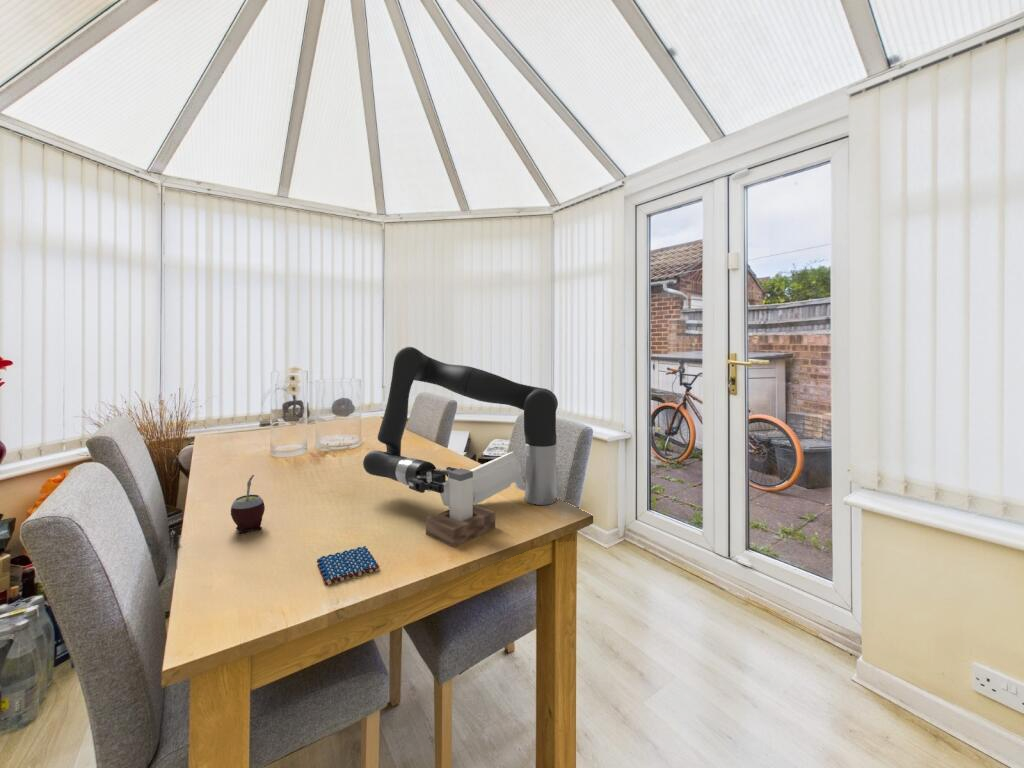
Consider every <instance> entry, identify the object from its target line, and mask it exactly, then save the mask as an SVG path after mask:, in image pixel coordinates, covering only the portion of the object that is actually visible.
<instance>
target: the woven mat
mask: <svg viewBox="0 0 1024 768" xmlns="http://www.w3.org/2000/svg"><path fill="white" fill-rule="evenodd" d="M316 563H317V567H318V568H319V570H320V571H319V573H320V574H321V577H322V579H323V581H324V582H323V584H325V585H327V586H330V585H332V584H333V583H335V584H336V583H338V580H339V581H340V582H344V580H345V579H346V580H350V577H351V578H352V579H356V578H357V576H358V577H361V576H362V575H367V572H368V573H370V574H372V573H373V572H374V571H375V572H377V571H379V568H380V565H379V563H378V562H377V560H376V559H375V557H374V555H372V553H371V552H370V550H369V549H368V547H367V546H366V545H363V546H358V547H357V548H350V549H347V550H344V551H340V552H339V551H338V552H336V553H333V554H332V553H330V554H328V555H322V556H321V557H319V558H317V559H316Z"/></svg>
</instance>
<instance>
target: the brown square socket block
mask: <svg viewBox="0 0 1024 768" xmlns="http://www.w3.org/2000/svg"><path fill="white" fill-rule="evenodd" d="M495 528H496V511H493V510H491V509H488V508H485V507H483V506H482V507H481V506H479V505H477V504H476V505H475V504H473V517H472V518H469V519H467V520H465V521H462V522H458V521H456V520H454V519H451V518H450V508H449V509H447V510H444V511H442V512H438V513H436V514H434V515H431V516H429V517H426V518H425V535H426V536H429V537H431V538H433V539H435V540H437V541H439V542H441V543H443V544H446V545H448V546H450V547H452V548H455V547H457V546H459V545H461V544H463V543H465V542H467V541H470V540H471V539H474V538H476V537H478V536H480V535H482V534H485V533H487V532H488V531H491V530H492V529H493V530H494V529H495Z"/></svg>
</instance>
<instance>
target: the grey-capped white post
mask: <svg viewBox="0 0 1024 768" xmlns="http://www.w3.org/2000/svg"><path fill="white" fill-rule="evenodd" d="M456 469H457V470H453V471H450V472H449V500H450V507H449V509H450V518H451V519H454V520H456V521H458V522H462V521H465V520H467V519H469V518H472V517H473V471H470V470H471V469H466V468H456Z"/></svg>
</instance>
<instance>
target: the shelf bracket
mask: <svg viewBox="0 0 1024 768" xmlns="http://www.w3.org/2000/svg"><path fill="white" fill-rule="evenodd" d="M469 470H470V471H473V504H474V505H477V504H479V503H482V502H484V501H485V500H487V499H489V498H492V497H493V496H495V495H497V494H499V493H500V492H502V491H504V490H506V489H508V488H510V487H511V485H512V484H514V487H515V488H516V489H518V490H520V491H524V492H525V480H524V479H523V476H522V472H523V470H522V467H521V463H520V461H519V459H517V458H516V455H515V452H514V451H510V452H508V453H506V454H504V455H501V456H500V457H497V458H494V459H492V460H490V461H488V462H485V463H482V464H480V465H479V466H476V467H474V468H472V469H469ZM446 481H448V479H446ZM443 485H444V492H443V493H439V495H440V498H441V500H442V504H443V505H444V506H445V507H449V508H450V500H449V484H443Z"/></svg>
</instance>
